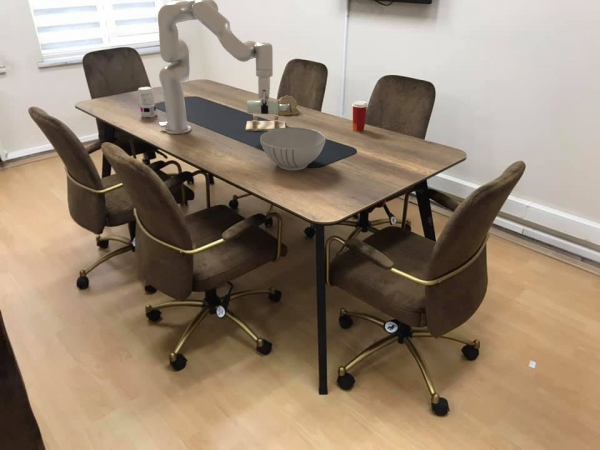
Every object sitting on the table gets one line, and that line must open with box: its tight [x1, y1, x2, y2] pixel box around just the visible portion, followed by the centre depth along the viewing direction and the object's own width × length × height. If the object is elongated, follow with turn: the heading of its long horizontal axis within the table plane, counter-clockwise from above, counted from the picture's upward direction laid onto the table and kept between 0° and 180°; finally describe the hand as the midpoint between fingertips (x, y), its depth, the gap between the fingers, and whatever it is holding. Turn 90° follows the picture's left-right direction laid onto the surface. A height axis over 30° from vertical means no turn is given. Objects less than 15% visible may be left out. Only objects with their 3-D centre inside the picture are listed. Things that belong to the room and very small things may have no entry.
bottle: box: [246, 99, 290, 115], centre depth 217 cm, size 20×6×6 cm, turn 92°
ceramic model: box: [276, 94, 301, 116], centre depth 260 cm, size 14×11×10 cm
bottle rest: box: [245, 114, 286, 132], centre depth 239 cm, size 20×13×4 cm, turn 92°
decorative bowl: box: [259, 126, 326, 171], centre depth 193 cm, size 27×27×12 cm
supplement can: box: [137, 86, 158, 118], centre depth 253 cm, size 8×8×15 cm
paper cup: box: [351, 100, 369, 133], centre depth 232 cm, size 8×8×14 cm
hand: (264, 111), depth 218 cm, fingers closed on bottle, 6 cm apart
